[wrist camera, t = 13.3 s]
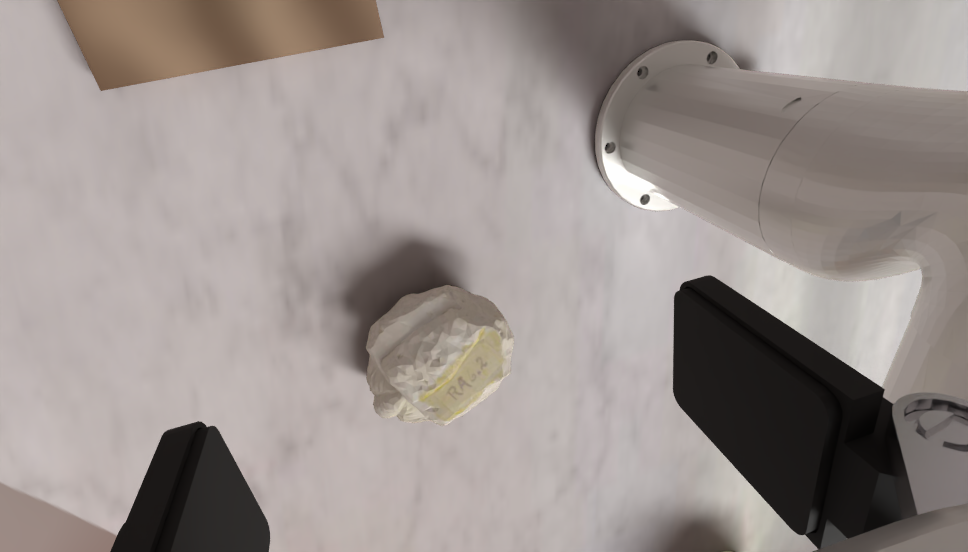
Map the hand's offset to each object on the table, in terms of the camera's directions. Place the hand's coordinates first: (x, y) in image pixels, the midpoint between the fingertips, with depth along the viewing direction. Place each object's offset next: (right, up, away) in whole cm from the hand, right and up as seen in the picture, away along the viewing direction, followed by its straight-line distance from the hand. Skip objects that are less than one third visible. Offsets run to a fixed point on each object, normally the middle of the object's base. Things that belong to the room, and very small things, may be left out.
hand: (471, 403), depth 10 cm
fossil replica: (-5, -2, +32) cm, 33 cm away
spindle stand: (-15, +22, +18) cm, 32 cm away
